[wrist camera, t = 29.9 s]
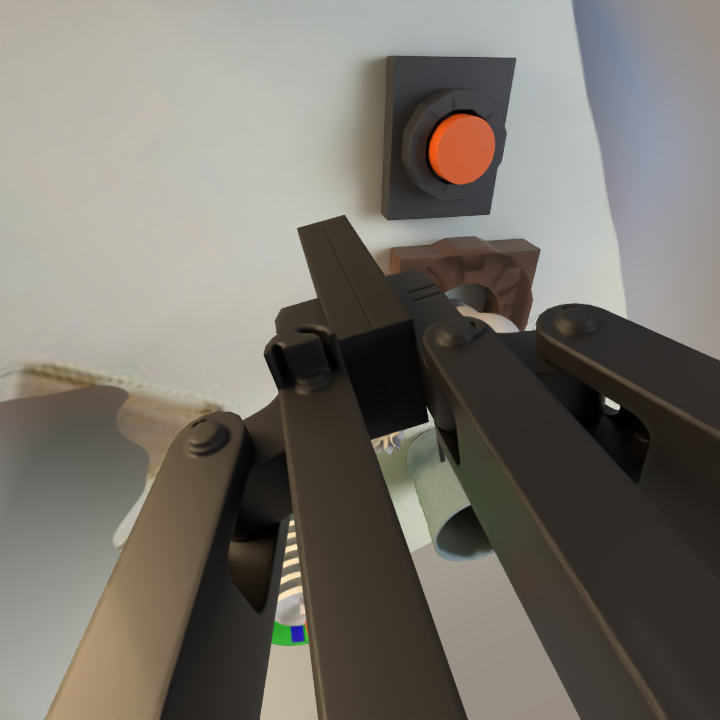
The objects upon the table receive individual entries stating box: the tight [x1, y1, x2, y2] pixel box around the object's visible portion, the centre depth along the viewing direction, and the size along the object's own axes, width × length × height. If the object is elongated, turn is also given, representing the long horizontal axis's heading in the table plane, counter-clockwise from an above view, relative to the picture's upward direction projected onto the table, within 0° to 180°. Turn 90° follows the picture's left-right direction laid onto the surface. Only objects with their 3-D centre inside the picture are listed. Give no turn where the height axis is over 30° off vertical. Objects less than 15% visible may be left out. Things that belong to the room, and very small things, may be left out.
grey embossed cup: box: [406, 428, 495, 561], centre depth 51 cm, size 10×10×12 cm
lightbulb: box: [451, 299, 519, 333], centre depth 40 cm, size 6×6×11 cm
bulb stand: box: [390, 236, 540, 332], centre depth 43 cm, size 14×14×3 cm
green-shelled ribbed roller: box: [271, 513, 309, 646], centre depth 48 cm, size 9×8×18 cm
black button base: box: [381, 56, 516, 220], centre depth 34 cm, size 11×9×4 cm
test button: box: [428, 114, 495, 185], centre depth 32 cm, size 4×4×2 cm
